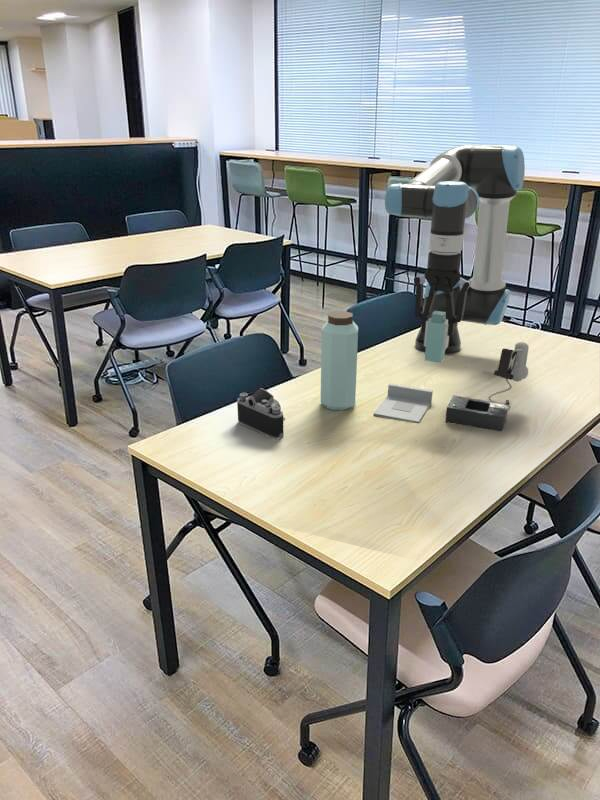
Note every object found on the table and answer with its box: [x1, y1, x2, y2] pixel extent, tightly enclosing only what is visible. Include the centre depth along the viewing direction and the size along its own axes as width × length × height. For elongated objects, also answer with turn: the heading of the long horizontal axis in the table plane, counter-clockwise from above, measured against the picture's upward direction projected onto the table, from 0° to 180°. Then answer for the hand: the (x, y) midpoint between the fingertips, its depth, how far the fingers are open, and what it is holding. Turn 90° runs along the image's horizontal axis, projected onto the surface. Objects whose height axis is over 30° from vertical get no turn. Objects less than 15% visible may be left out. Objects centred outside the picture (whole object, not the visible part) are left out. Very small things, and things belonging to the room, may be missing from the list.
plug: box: [424, 311, 448, 364], centre depth 156 cm, size 4×4×12 cm
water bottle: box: [320, 310, 359, 411], centre depth 166 cm, size 10×10×25 cm
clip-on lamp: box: [488, 341, 529, 405], centre depth 165 cm, size 12×6×18 cm, turn 135°
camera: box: [236, 387, 286, 440], centre depth 157 cm, size 16×8×10 cm, turn 46°
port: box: [444, 395, 512, 432], centre depth 160 cm, size 8×15×5 cm, turn 66°
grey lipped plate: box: [373, 383, 433, 424], centre depth 167 cm, size 14×12×4 cm
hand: (435, 346), depth 158 cm, fingers closed on plug, 4 cm apart
